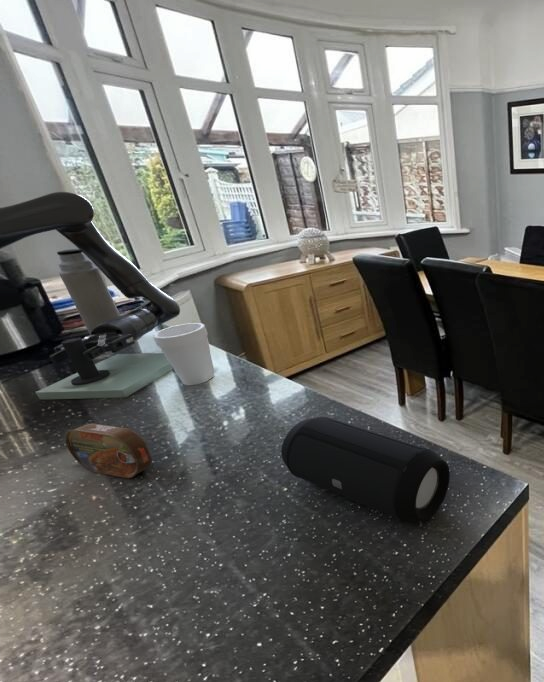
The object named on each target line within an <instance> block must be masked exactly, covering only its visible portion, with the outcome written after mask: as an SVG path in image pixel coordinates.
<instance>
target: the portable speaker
mask: <svg viewBox="0 0 544 682" xmlns="http://www.w3.org/2000/svg"><path fill="white" fill-rule="evenodd" d="M280 451H281V459H282V461H283V463H284V465H285V466H286V468H287V469H288V471H289V472H290V474H292V475H293V476H294V477H296V478H298V479H302V480H304V481H306V482H309V483H311V484H313V485H316V486H319V487H321V488H323V489H326V490H328V491H330V492H333V493H335V494H337V495H339V496H342V497H345V498H347V499H349V500H351V501H353V502H357V503H359V504H361V505H362V506H363V505H364V506H366V507H368V508H370V509H373V510H375V511H377V512H380V513H381V514H385V515H386V516H389V517H392V518H394V519H396V520H399V521H400V522H402V523H418V522H420V523H421V522H425V521H428V520H430V519H431V518H432V517H434V516H435V514H436V513H437V512H438V511H439V509H440V507H441V506H442V504H443V502H444V500H445V498H446V496H447V493H448V490H449V489H448V488H449V485H450V480H451V478H450V477H451V473H450V472H451V471H450V467H449V465H448V463H447V462H446V460H444V459H443V458H442V457H441V456H440V455H439V454H438V453H436V452H435V451H434V450H432V449H430V448H426V447H424V446H421V445H418V444H413V443H411V442H408V441H405V440H401V439H398V438H395V437H392V436H389V435H386V434H383V433H380V432H376V431H373V430H371V429H367V428H363V427H361V426H359V425H358V426H357V425H354V424H351V423H348V422H344V421H342V420H338V419H336V418H332V417H326V416H317V417H311V418H306V419H303V420H301V421H298V423H296V424H295V425H294V426H293V427H292V428H290V429H289V431H288V433H287V434H286V436H285V437H284V439H283V441H282V445H281V450H280Z"/></svg>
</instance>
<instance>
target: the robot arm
mask: <svg viewBox="0 0 544 682" xmlns="http://www.w3.org/2000/svg"><path fill="white" fill-rule="evenodd" d="M94 216H95V210H94V206H93V204H92V203H91V202H90V201H89V200H88V199H87V198H85V197H84V196H83V195H79V194H78V193H75V192H69V191H54V192H51V193H47V194H44V195H41V196H38V197H34V198H32V199H29V200H25V201H21V202H19V203H15V204H11V205H7V206H2V207H0V250H1V249H4V248H7V247H9V246H10V245H13V244H15V243H17V242H19V241H21V240H24V239H26V238H29V237H32V236H34V235H38V234H42V233H46V232H52V231H56V232H58V233H59V234H60V235H61V236H63V237H64V238H65V239H67V240H68V241H69V242H70V243H72V244H73V245H74V246H75V247H76V249H80V250H81V251H82V253H83V254H84V256H85V257H86V258H87V259H89V260H91V261H92V262H93V265H94V266H95V267H98V268H99V271H100V272H101V273H102V274H103V275H104V276H105V277H106V278H107V279H108V280H109V281H110V283H111V284H112V285H113V286H115V288H116V289H117V290H118V291H119V292H120V293H121V294H122V295H123V296H124V297H125V298H127V299H137V298H143V299H145V300H147V301H148V302H146V303H143V304H142V305H140V306H138V307H136V308H134V309H131V310H129V311H127V312H125V313H123V314H120V316H117V317H114V318H112V319H110V320H108V321H106V322H104V323H101V324H99V325H97V326H96V327H94V328H93V330H92V332H91V335H90V334H89V335H86V336H85V337H84V338H81V339H82V341H83V343H84V345H85V347H86V349H87V351H85V352H83V356H84V358H85V360H86V361H91V360H93V361H94V360H95V359H97V358H98V357H100V356H103V355H104V356H105V355H108V354H109V353H113V354H116V353H118V352H120V351H123V350H124V349H126V348H128V347H130V346H132V345H134V344H135V343H136V342H137V341H138V340H140V339H141V338H142V337H143V336H145V335H146V334H149V333H150V332H152V331H153V330H154V329H155V328H156V327H159V326H160V325H163V324H165V323H167V322H169V321H171V320H173V319H176V318H177V317H178V316H180V313H181V308H180V306H179V303H178V302H177V301H176V300H175V299H174V298H173V297H171V296H170V295H168V294H167V293H165V292H163V291H162V290H161V289H159V288H158V287H157V286H156V285H154V284H152V283H151V282H150V281H149V280H148V279H147V277H145V275H144V274H143V273H142V272H141V270H139V269H138V267H136V265H135V264H134V263H132V261H130V260H129V259H128V258H127V257H126V256H124V255H123V254H122V253H121V252H119V251H118V250H117V249H115V247H114V246H112V245H111V244H110V242H108V241H107V240H106V239H105V237H104V236H103V235H102V234H101V233H100V232H99V230H98V229H97V227H96V226H95V224H94V223H93V220H94ZM53 350H54V353H52V354H50V355H49V358H50V361H51V363H52V364H53V365H60V364H61V363H63V362H65V361H67V360H70V358H69V356H68V354H67V352H66V350H65V349H64V347H63V345H62V343H60V344H59V345H57V346H55V347H53Z"/></svg>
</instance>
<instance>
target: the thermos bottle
mask: <svg viewBox="0 0 544 682" xmlns="http://www.w3.org/2000/svg"><path fill="white" fill-rule="evenodd" d="M56 253H57V255H58V256H59V259H60V262H59V263H58V267H59V269H60V271H59V272H58V275H59V277H60V278H61V281H62V282H63V284H64V286H65V288H66V290H67V293H68V295H69V296H70V298H71V300H72V303H73V304H74V306H75V308H76V310H77V312H78V314H79V316H80V318H81V320H82V322H83V324H84V326H85V328H86V330H87V332H88V334H89V335H91V332H92V330H93V328H94V327H96V326H97V325H99V324H101V323H104V322H106V321H108V320H110V319H112V318H114V317H117V316H120V315H121V314H120V312H119V309H118V307H117V305H116V302H115V301H114V299H113V296H112V295H111V292H110V290H109V288H108V286H107V284H106V281H105V280H104V278H103V275H102V272H101V270H100V269H99V268H98V267H97V266H95V264H94V263H93V262H92V261H91V260H90V259H89V258H87V257H86V255H85V254H84V253H83V252H82V251H81V250H80V249H79V248H73V249H64V250H59V251H56Z"/></svg>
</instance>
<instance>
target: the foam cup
mask: <svg viewBox="0 0 544 682" xmlns="http://www.w3.org/2000/svg"><path fill="white" fill-rule="evenodd" d="M152 337H153V339H154V341H155V345H157V347H158V348H159V349H160V350H161V351H162V353H164V355H165V356H166V358H167V359H168V361H169V362H170V364H171V365H172V367H173V371H175V373H176V375H177V376H178V378H179V380H180V381H181V383H182V384H183V385H184V386H196V385H197V386H198V385H200V384H204V383H206V382H208V380H209V379H211V378H212V377H213V378H215V376H214V374H215V368H214V363H213V359H212V354H211V348H210V343H209V337H208V330H207V328H206V325H205V324H204V323H202V322H189V323H181V324H177V325H176V324H175V325H172V326H169V327H166V328H163V329H160V330H158V331H156V332H155V333H154V334H153V335H152ZM213 378H212V379H213ZM212 379H211V380H212ZM209 381H210V380H209Z"/></svg>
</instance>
